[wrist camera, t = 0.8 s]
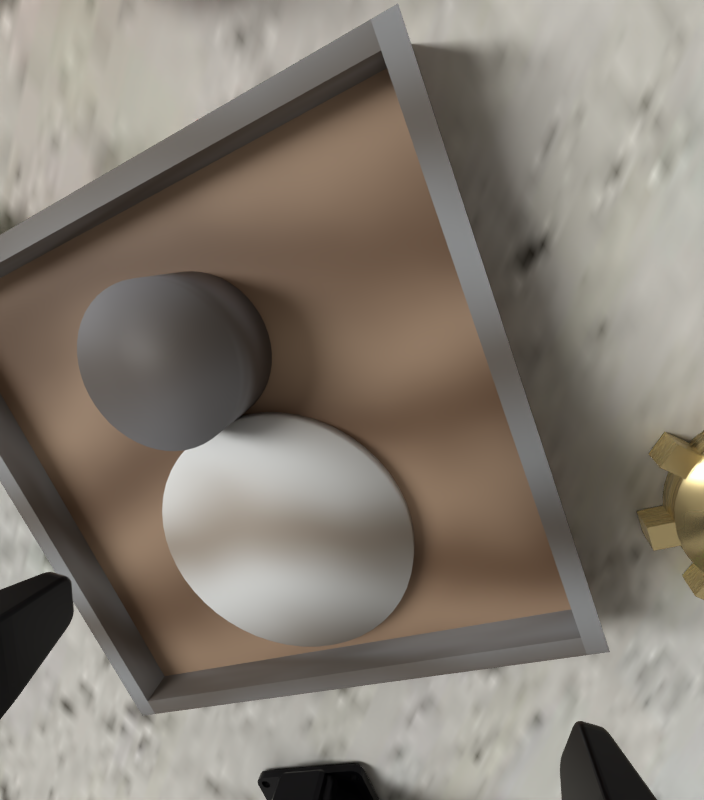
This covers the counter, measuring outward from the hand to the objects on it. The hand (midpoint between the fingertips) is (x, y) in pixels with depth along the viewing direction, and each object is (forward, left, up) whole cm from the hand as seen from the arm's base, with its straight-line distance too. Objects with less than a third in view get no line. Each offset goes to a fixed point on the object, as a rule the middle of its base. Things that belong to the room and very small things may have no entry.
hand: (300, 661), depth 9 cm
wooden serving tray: (+1, +6, -13) cm, 14 cm away
